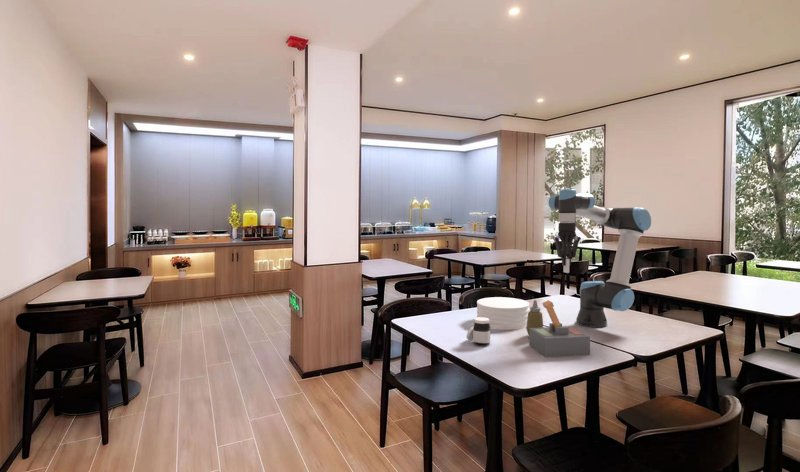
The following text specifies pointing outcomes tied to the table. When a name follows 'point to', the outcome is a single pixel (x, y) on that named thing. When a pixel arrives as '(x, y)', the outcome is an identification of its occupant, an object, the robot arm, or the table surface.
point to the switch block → (559, 341)
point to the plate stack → (504, 312)
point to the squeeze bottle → (534, 317)
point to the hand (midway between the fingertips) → (566, 272)
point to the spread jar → (480, 332)
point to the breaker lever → (552, 313)
